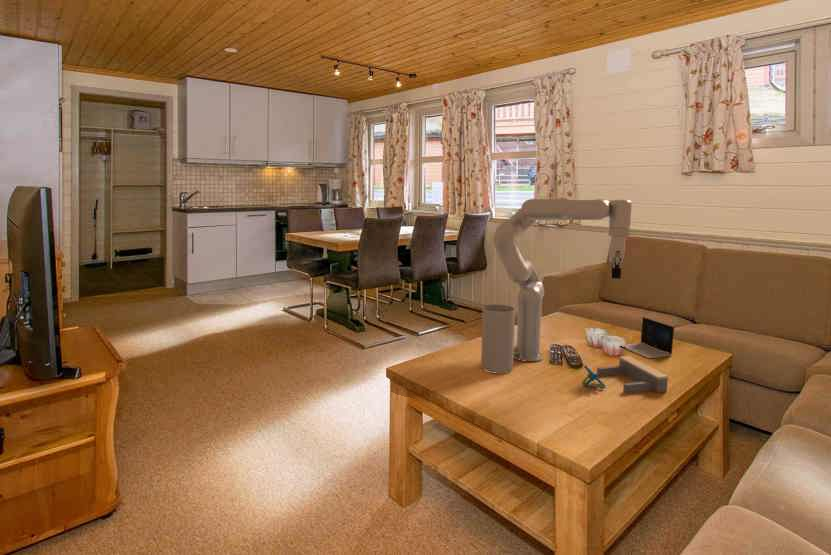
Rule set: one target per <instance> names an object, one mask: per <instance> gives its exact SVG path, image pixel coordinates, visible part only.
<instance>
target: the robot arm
mask: <svg viewBox="0 0 831 555" xmlns="http://www.w3.org/2000/svg"><path fill="white" fill-rule="evenodd" d="M605 218H609V220H608V222H609V223H608V236H609V237H610V245H609V258H608V259H609V263H611V262H612V264H611V279H615V280H616V279H621V278H622V277H621V276H622V275H621V274H622V267H621V266H622V263H623V262H624V258H625V251H626V239H627V238H628V237H630V231H631V218H632V201H631V200H629V199H613V200H612V199H611V200H610V199H605V198H603V199H602V198H597V199H569V198H560V197H559V198H530V199H526V200H525V201H523V203H522V205H521V207H520V209H519V210H518V211H516V212H515V213H514V214H513V215H512V216H511V217H510V218H507V219H505V220H503V221H501V222H500V223H499V225H498V226H497V227H496V229H495V231H494V234H493V246H494V249H495V252H496V253H497V255H498V257H499V259H500V262H501V264H502V265H503V268H504V270H505V272H506V274H507V276H508V278H509V280H510V281H511V282H512V283H514V284H516V285H518V287H519V290H518V294H517V299H516V300H517V301H516V302H517V328H516V329H517V330H516V332H517V333H516V345H514V354H513V356H514V357H515V358H517V359H520V360H525V361H537V362H540V361H542V360H543V359H544V355H543V354H542V353H541V352H540V346H541V327H542V324H541V323H542V322H541V321H542V300H543V298H544V296H545V287H544V284H543V283H542V281H541V279H540V276H539V274H538V273H537V271H536V268H535V267H534V265H533V263H532V262H531V261H529V260H528V259H526V258H523V256H522V254H521V252H520V250H519V248H518V246H517V245H516V242H515V239H516V238H518V237H520V236H522V235H523V234H524V233H525V232H526V231H527V230H528V229H530V228H531V227H532V225H534V224H535V223H536V222H537V221H569V220H570V221H573V220H574V221H575V220H577V221H585V220H586V221H591V220H592V221H595V220H596V221H597V220H603V219H605ZM514 357H513V358H514ZM515 358H514V359H515ZM517 359H516V360H517ZM520 360H519V361H520ZM539 360H540V361H539Z"/></svg>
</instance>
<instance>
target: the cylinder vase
mask: <svg viewBox="0 0 831 555" xmlns="http://www.w3.org/2000/svg"><path fill="white" fill-rule="evenodd" d="M515 319H516V308H515V307H514V306H511V305H507V304H500V303H499V304H487V305H484V306H483V307H482V318H481V320H482V322H481V323H482V324H481V358H480V359H481V364H480V366H482V367H481V369H482V368H483V369H485V370H487V371H490V372H496V373H506V372H509V373H510V371H511V372H512V371H513V369H514V357H513V354H514V346H515V325H516V324H515V323H516V322H515V321H516V320H515ZM483 369H482V370H483ZM506 374H507V373H506Z"/></svg>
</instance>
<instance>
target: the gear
mask: <svg viewBox="0 0 831 555" xmlns="http://www.w3.org/2000/svg"><path fill="white" fill-rule="evenodd" d="M583 368H584V369H585V370H586V372H587V376H586V377H585V378H584V379H583V382H584V383H583V386H585V387H587V386H588V385H589V384H590V383H592V382H594V381H595V380H596V381H597V382H598V383H599V384H600V385H601V387H603V388H606V385H605V384H604V383H603V382H602V381H601V379H600V378H599V376H598V375H597V373H594V372H593V371H592V370H591V369H590V368H589V367H588V366H587V365H586V364H585V365H584V366H583Z"/></svg>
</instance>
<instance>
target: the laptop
mask: <svg viewBox="0 0 831 555" xmlns="http://www.w3.org/2000/svg"><path fill="white" fill-rule="evenodd" d="M674 334H675V326H673V325H669V324H666V323H663V322H660V321H657V320H654V319H651V318H648V317H645V316H642V324H641V337H640V342H637V343H636V342H634V343H628V344H625V345H626V349H625V350H627V351H629V352H632V353H634V354H637V355H640V356H642V357H643V358H646V359H657V358H658V359H659V358H665V356H667V357H671V356H672V355H673V347H674V346H673V345H674ZM670 355H671V356H670ZM662 356H663V357H662Z"/></svg>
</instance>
